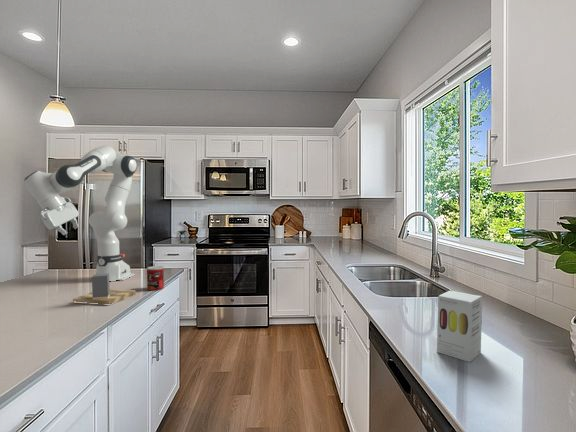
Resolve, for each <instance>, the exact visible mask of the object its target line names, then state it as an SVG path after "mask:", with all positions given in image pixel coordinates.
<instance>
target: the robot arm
mask: <svg viewBox="0 0 576 432" xmlns="http://www.w3.org/2000/svg"><path fill="white" fill-rule="evenodd" d="M80 158H81V159H80V161H79V162H77V163H74V164H65V165H62V166H61V167H60V168H58V169H57V170H56V171H54V172H44V171H41V170H35V171H34V172H31V173H30V174H29V175H27V176H26V177H25V178H24V180H23V181H24V185H25V187H26V188H27V190H28V191H29V193H30V194H31V196H32V197H33V198H34V199H36V201H37V203H38V205H39V206H40V208H41V210H40V212H39V215H40V218H41V221H42V222H43V224H44V225H45V227H46V229H48V230H50V231H52V230H54V229H55V230H56V231H57V232H59V233H61V235H63V236H65V235H67V234H68V233H69V232H68V231H67V229H64V228H63V226H62V225H63V224H65V223H68V222H71V224H72V228H73V229H74V230H76V229H78V228H79V227H80V226H79V224H78V221H77V218H78V217H79V216H80V212H79V211H78V209H77V208H76V206H75V205H74V204H73V203H72V200H71V199H70V197H65V196H64V197H63V196H61V195H62V194H64V193H67V191H69V190H71V189H73V188H75V187H77V186H78V185H80V184H81V183H82V182H83V179H84V178H85V176H86V175H87V174H89V173H90V174H97V173H99V172H101V171H102V172H104V173H110V174H113V176H112V179H111V181H110V184H109V187H108V188H107V190H106V191H107V192H106V195H105V197H104V201H105V203H106V207H105V208H106V209H105V210H99V211H95V212H93V213H91V214H90V216H89V218H88V223H89V225H90V227H92V229H93V233H94V234H95V238H96V239H95V240H96V245H97V256H96V262H97V264H96V268H95V274H109V281H111V282H117V281H116V280H120V281H125V280H128V279H129V277H130V278H132V277H134V276H135V275H136V273H134V272H131V266H130V265H129V264H128V263H126V262H125V261H124V260H123V258H125V256H126V255H125V253H121V252H120V250H121V249H120V240H119V238H118V237H117V236H116V233H115V231H116V232H117V231H121V230H124V229H125V228H126V227H127V225H128V216H126V203H127V200H128V198H129V195H130V192H131V188H132V184H133V175H134V174H135V173H136V171H137V168H138V163H137V160H136V158H135V157H134V156H131V155H127V154H126V155H125V154H119V153H116V151H115V149H114V148H113V147H112V146H110V145H109V146H108V145H102V146H98V147H95V148H94V149H91V150H89V151H88V152H86V153H85V154H84V155H83V156H82V157H80Z"/></svg>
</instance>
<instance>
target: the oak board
mask: <svg viewBox="0 0 576 432" xmlns="http://www.w3.org/2000/svg"><path fill="white" fill-rule="evenodd" d="M136 292H137V291H136V290H135V289H134V290H133V289H132V290H131V289H115V288H114V289H112V288H110V296H109V298H106V299H94V300H93V294H92V291H91V292H89V293H86V294H83V295H81V296H77V297H74V298H72V302H73V301H76V302H87V303H98V304H112V303H114V302H117V301H119V302H121V301H120V300H122V301H124V300H125V298H126V299H129V298H131V297H133V295H134V296H135V295H136ZM130 296H131V297H130ZM128 297H129V298H128ZM123 299H124V300H123ZM117 303H118V302H117ZM114 304H115V303H114ZM112 305H113V304H112Z"/></svg>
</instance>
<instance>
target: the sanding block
mask: <svg viewBox="0 0 576 432" xmlns="http://www.w3.org/2000/svg"><path fill="white" fill-rule="evenodd" d="M91 287H92V288H91V289H92V291H91V292H92V294H93V300H94V299H106V298H109V296H110V289H111V288H110V282H109V274H96V273H95V274H92V276H91Z"/></svg>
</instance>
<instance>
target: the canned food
mask: <svg viewBox="0 0 576 432" xmlns="http://www.w3.org/2000/svg"><path fill="white" fill-rule="evenodd" d="M164 272H165V271H164V266H162V265H154V266H148V267H146V287H147V290H148V291H151V292H152V291H161V290H163V289H164V287H165V282H164V281H165V279H164V277H165V275H164Z"/></svg>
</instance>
